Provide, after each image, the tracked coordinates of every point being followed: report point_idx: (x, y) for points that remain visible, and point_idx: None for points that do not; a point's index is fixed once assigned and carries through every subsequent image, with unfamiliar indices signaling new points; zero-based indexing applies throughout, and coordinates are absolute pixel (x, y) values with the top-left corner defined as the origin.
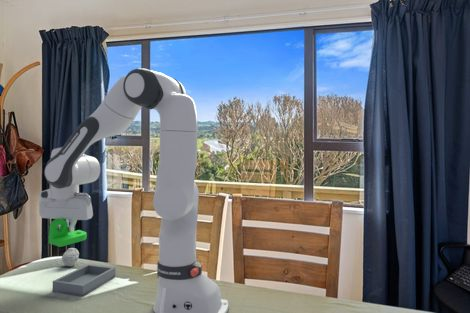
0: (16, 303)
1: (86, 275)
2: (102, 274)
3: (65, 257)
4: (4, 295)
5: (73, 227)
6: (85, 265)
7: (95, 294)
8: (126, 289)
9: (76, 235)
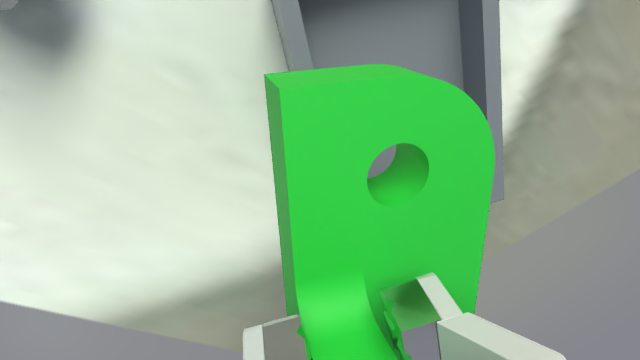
0: None
1: (321, 33)
2: (497, 56)
3: (5, 2)
4: (192, 341)
5: (456, 313)
6: (281, 5)
7: (508, 139)
8: (603, 27)
9: (448, 236)
